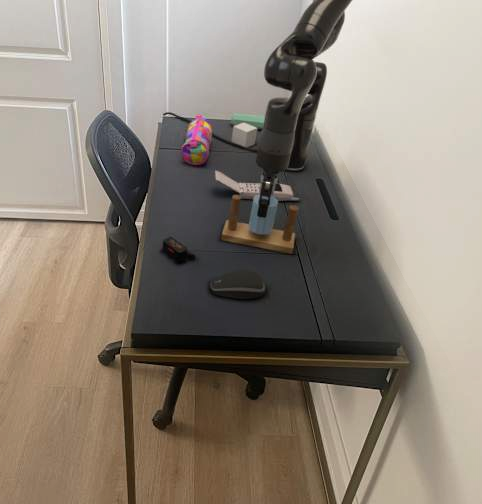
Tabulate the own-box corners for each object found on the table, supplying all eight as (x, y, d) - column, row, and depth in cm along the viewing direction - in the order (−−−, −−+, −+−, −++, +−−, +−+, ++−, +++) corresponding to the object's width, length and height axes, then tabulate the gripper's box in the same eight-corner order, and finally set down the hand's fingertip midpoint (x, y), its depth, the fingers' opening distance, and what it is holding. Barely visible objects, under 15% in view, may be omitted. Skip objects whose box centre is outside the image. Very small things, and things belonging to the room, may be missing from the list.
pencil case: (184, 138, 173) (186, 113, 167) (211, 141, 173) (214, 116, 168) (179, 165, 155) (181, 138, 150) (209, 169, 155) (212, 142, 150)
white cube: (254, 144, 175) (257, 128, 171) (244, 148, 171) (247, 132, 167) (241, 138, 178) (244, 122, 174) (231, 142, 174) (233, 126, 170)
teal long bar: (232, 110, 182) (299, 118, 181) (232, 111, 188) (297, 119, 187) (230, 127, 183) (297, 135, 182) (230, 127, 189) (295, 135, 188)
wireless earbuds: (180, 266, 114) (181, 254, 112) (161, 251, 118) (162, 240, 116) (195, 259, 117) (196, 247, 115) (176, 244, 120) (177, 233, 119)
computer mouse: (208, 278, 111) (210, 264, 109) (262, 280, 113) (265, 266, 110) (211, 298, 106) (213, 284, 103) (267, 300, 107) (270, 286, 105)
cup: (250, 219, 127) (255, 192, 122) (273, 223, 126) (279, 196, 121) (247, 231, 122) (252, 203, 117) (271, 236, 121) (277, 208, 116)
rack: (221, 240, 124) (226, 202, 118) (225, 225, 130) (231, 188, 123) (292, 254, 122) (301, 216, 116) (293, 238, 128) (302, 202, 121)
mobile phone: (214, 169, 142) (299, 175, 144) (212, 187, 146) (295, 193, 148) (215, 180, 137) (303, 185, 140) (213, 198, 141) (299, 203, 143)
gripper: (290, 162, 105) (276, 225, 115) (294, 137, 116) (281, 196, 126) (255, 156, 106) (244, 219, 115) (262, 131, 117) (252, 191, 127)
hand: (263, 207), depth 121 cm, fingers open, 8 cm apart
